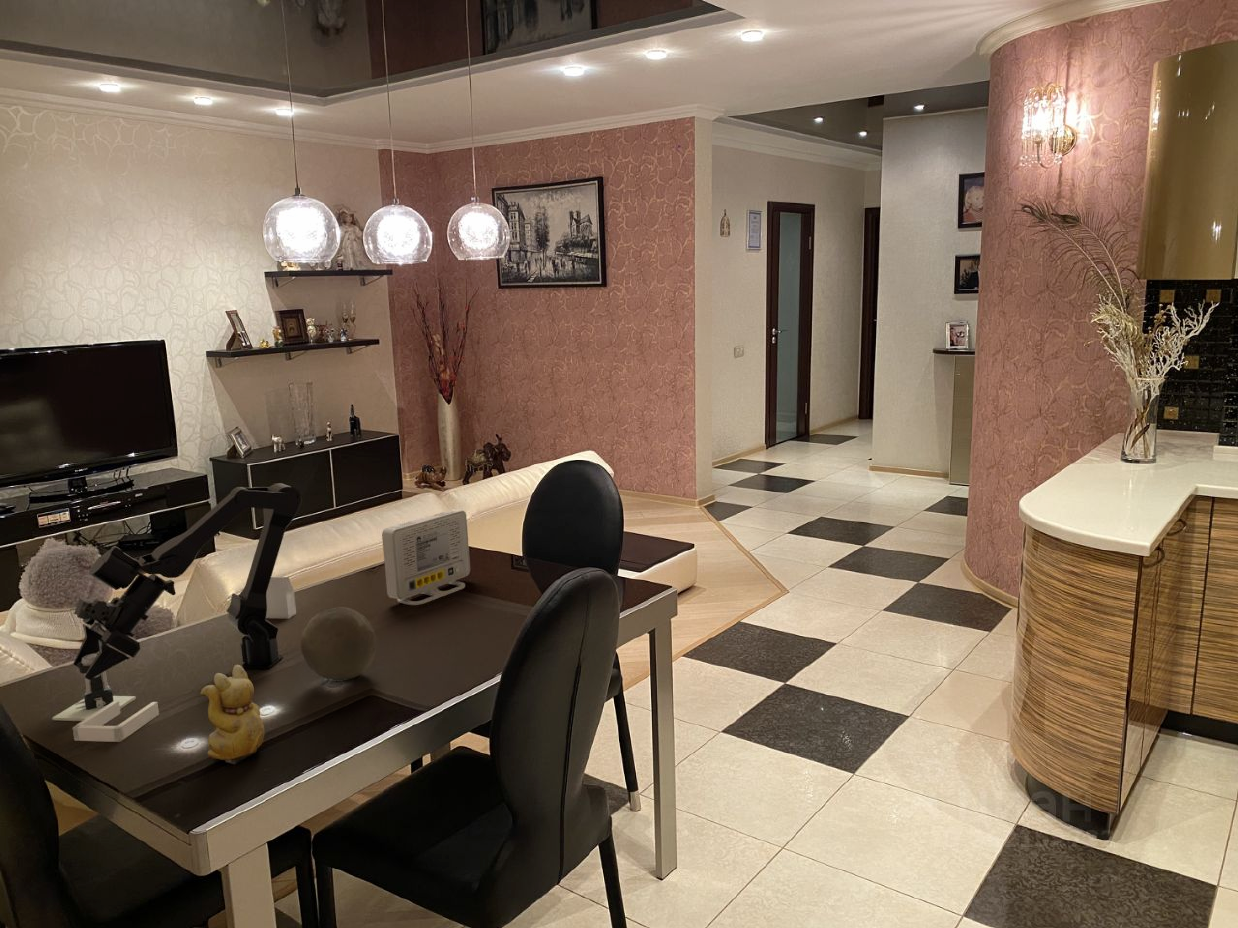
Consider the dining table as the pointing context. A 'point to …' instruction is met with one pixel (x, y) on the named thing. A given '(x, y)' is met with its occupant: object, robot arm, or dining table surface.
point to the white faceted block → (280, 598)
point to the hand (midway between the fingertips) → (81, 671)
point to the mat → (83, 713)
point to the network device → (426, 556)
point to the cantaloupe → (338, 643)
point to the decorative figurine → (233, 717)
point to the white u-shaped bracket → (96, 732)
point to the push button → (94, 686)
